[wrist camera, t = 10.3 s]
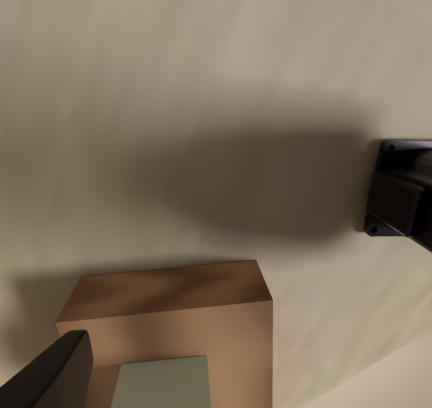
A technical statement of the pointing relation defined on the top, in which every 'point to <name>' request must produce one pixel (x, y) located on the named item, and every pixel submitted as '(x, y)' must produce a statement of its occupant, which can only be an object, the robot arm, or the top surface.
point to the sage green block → (164, 384)
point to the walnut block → (179, 327)
